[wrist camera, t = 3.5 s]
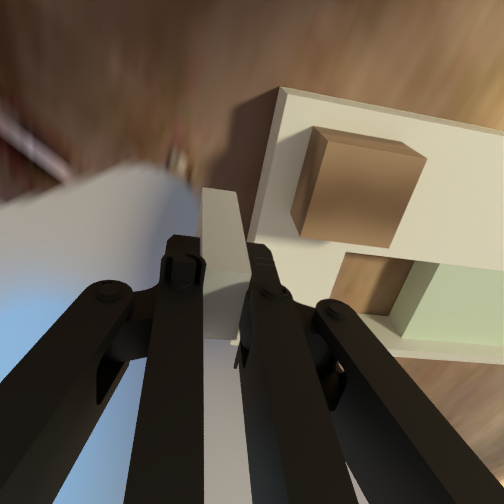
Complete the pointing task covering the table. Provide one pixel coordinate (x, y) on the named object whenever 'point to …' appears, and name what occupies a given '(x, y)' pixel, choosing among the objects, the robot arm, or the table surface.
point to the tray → (401, 227)
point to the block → (354, 187)
